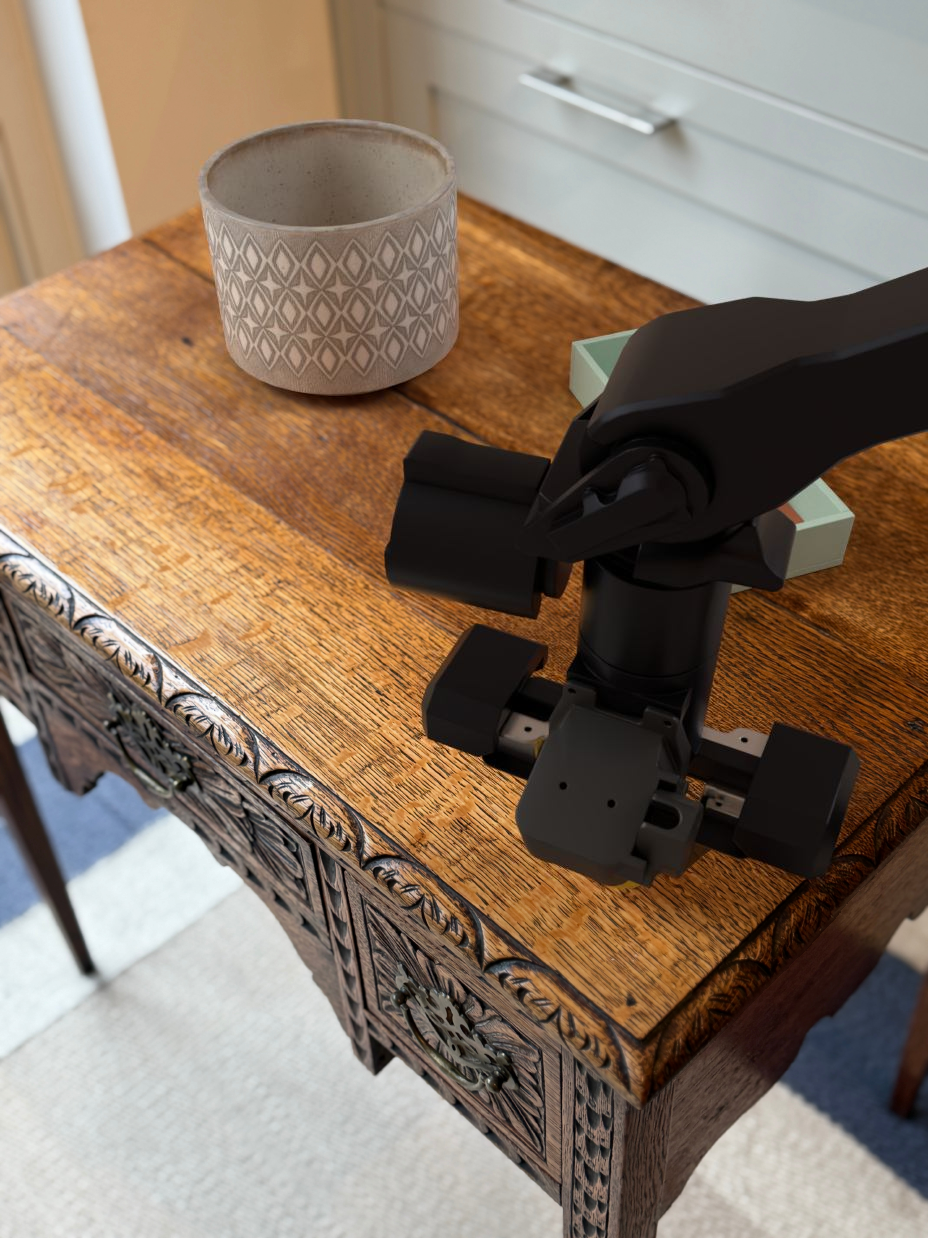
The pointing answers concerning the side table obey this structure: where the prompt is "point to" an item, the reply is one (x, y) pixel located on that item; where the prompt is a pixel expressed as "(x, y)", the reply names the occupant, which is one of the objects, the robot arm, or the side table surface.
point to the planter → (334, 253)
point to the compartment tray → (811, 510)
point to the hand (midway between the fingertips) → (619, 848)
